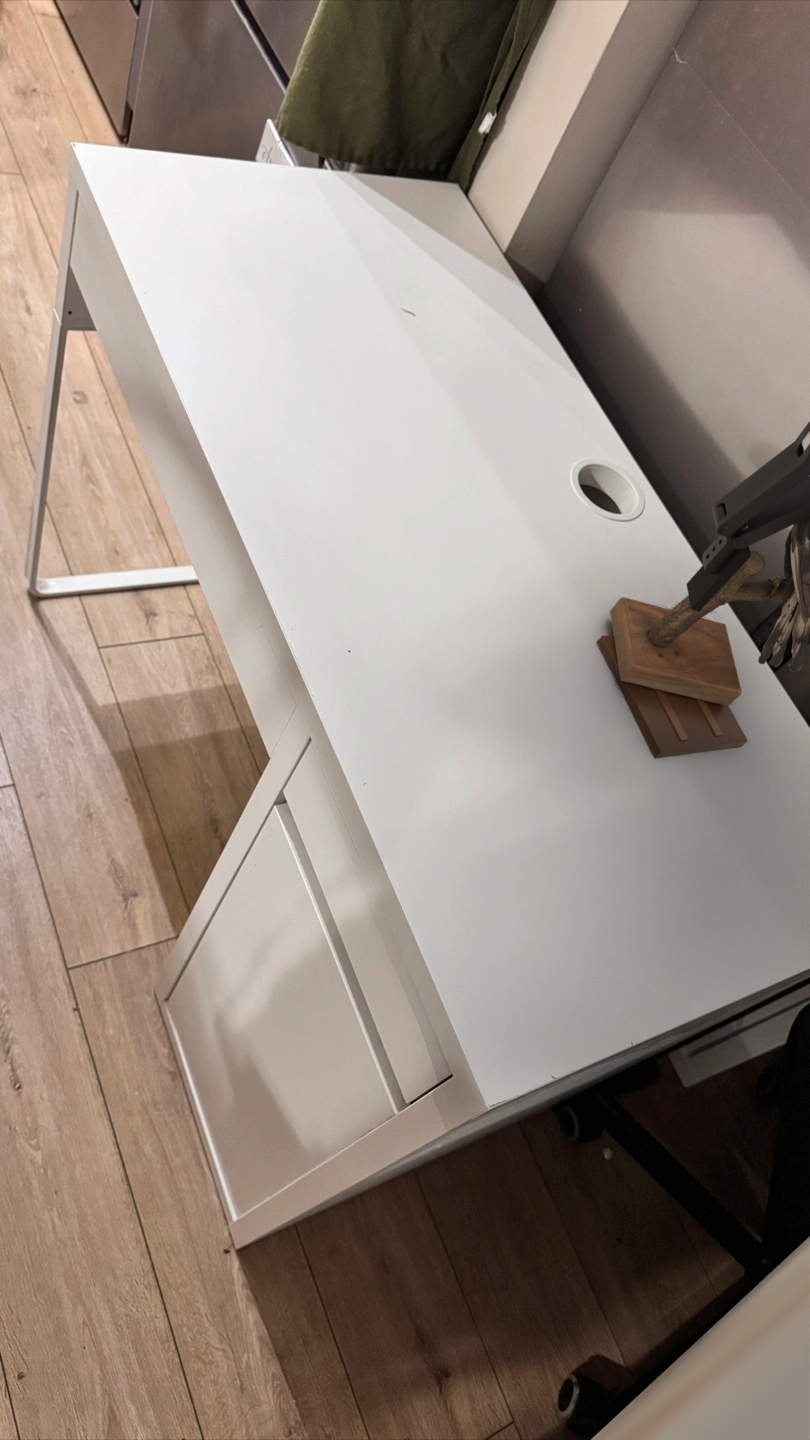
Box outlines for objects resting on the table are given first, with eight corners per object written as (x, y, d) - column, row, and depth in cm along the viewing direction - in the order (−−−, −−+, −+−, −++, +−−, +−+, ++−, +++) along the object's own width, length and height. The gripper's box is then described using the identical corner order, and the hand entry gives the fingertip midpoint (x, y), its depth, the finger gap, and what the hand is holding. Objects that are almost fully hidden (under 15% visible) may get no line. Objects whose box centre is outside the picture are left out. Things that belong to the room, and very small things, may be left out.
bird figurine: (629, 742, 82) (834, 531, 63) (609, 610, 90) (785, 388, 71) (741, 767, 85) (970, 573, 66) (712, 637, 93) (908, 431, 74)
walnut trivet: (741, 747, 89) (749, 740, 88) (654, 758, 84) (662, 750, 83) (681, 637, 94) (688, 629, 93) (596, 642, 89) (602, 634, 88)
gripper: (1079, 412, 69) (850, 617, 86) (809, 297, 63) (621, 542, 80) (1121, 486, 64) (871, 686, 81) (835, 370, 58) (630, 612, 75)
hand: (747, 615), depth 80 cm, fingers open, 9 cm apart
